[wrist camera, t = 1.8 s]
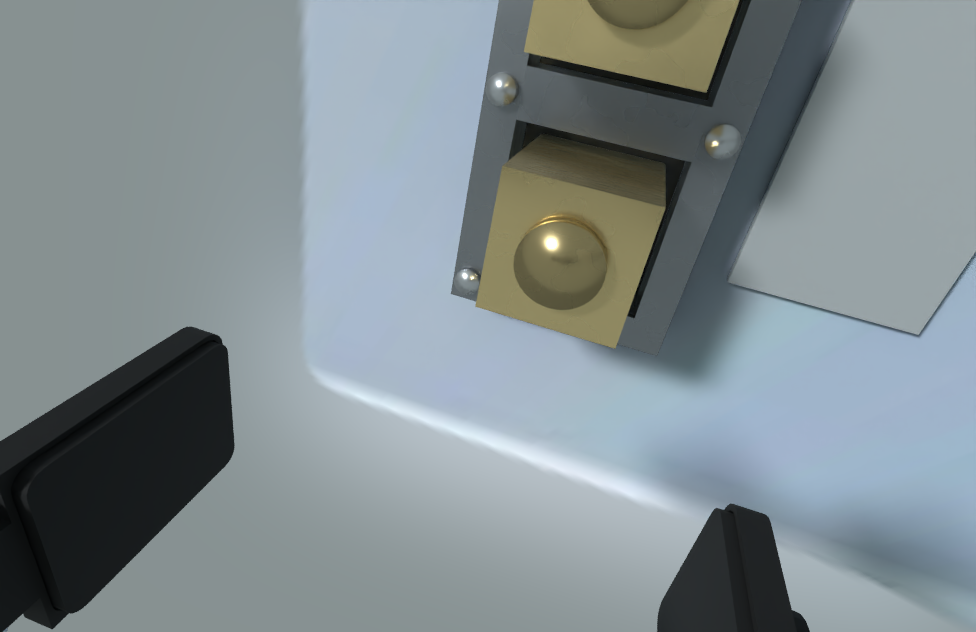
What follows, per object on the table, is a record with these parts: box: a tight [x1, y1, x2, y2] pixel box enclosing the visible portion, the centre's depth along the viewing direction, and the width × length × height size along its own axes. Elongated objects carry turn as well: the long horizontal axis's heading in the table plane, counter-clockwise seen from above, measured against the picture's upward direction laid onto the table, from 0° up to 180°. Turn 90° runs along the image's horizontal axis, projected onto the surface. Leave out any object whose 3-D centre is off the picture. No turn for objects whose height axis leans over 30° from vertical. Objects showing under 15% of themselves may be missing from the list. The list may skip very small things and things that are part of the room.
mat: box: [727, 0, 976, 335], centre depth 21 cm, size 8×12×1 cm, turn 170°
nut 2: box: [476, 133, 666, 349], centre depth 22 cm, size 6×6×8 cm
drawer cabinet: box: [451, 0, 802, 356], centre depth 22 cm, size 10×19×3 cm, turn 170°
